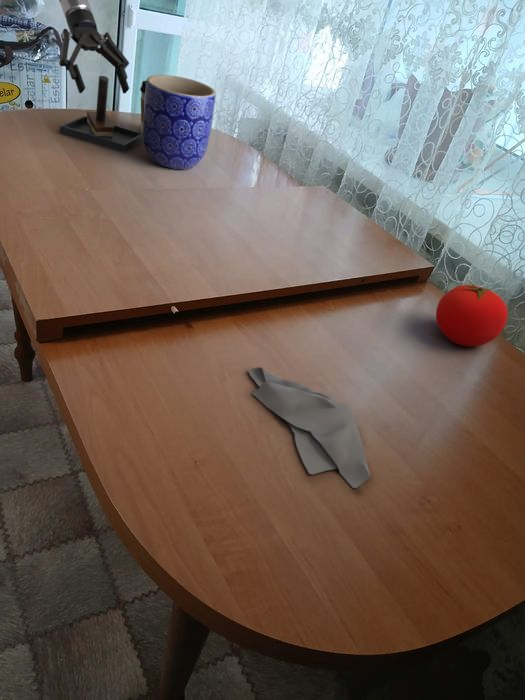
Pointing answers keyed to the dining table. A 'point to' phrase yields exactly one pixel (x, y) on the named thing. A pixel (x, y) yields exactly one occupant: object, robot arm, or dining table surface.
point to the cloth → (316, 426)
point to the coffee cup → (142, 102)
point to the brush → (101, 111)
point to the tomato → (471, 315)
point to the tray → (119, 141)
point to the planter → (177, 120)
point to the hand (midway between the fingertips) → (104, 90)
